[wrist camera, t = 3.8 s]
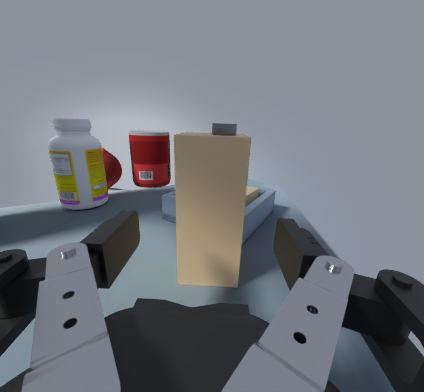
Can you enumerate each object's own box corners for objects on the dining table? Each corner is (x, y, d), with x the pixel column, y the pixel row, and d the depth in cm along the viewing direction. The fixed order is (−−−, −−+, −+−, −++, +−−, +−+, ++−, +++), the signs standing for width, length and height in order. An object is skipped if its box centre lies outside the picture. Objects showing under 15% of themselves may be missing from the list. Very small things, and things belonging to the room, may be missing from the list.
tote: (162, 218, 29) (161, 195, 28) (209, 196, 39) (209, 178, 38) (240, 245, 23) (243, 217, 22) (272, 211, 33) (275, 190, 32)
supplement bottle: (107, 194, 38) (97, 119, 34) (110, 207, 33) (99, 119, 28) (63, 199, 35) (45, 117, 31) (58, 214, 29) (37, 117, 25)
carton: (177, 284, 17) (173, 121, 13) (186, 250, 22) (185, 122, 18) (237, 287, 17) (252, 124, 13) (233, 252, 22) (243, 124, 18)
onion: (115, 182, 46) (110, 145, 43) (129, 188, 42) (125, 147, 40) (86, 187, 41) (79, 146, 39) (99, 194, 38) (92, 149, 35)
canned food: (177, 184, 46) (175, 132, 42) (141, 190, 41) (137, 132, 37) (161, 177, 51) (158, 130, 48) (128, 181, 47) (123, 130, 43)
